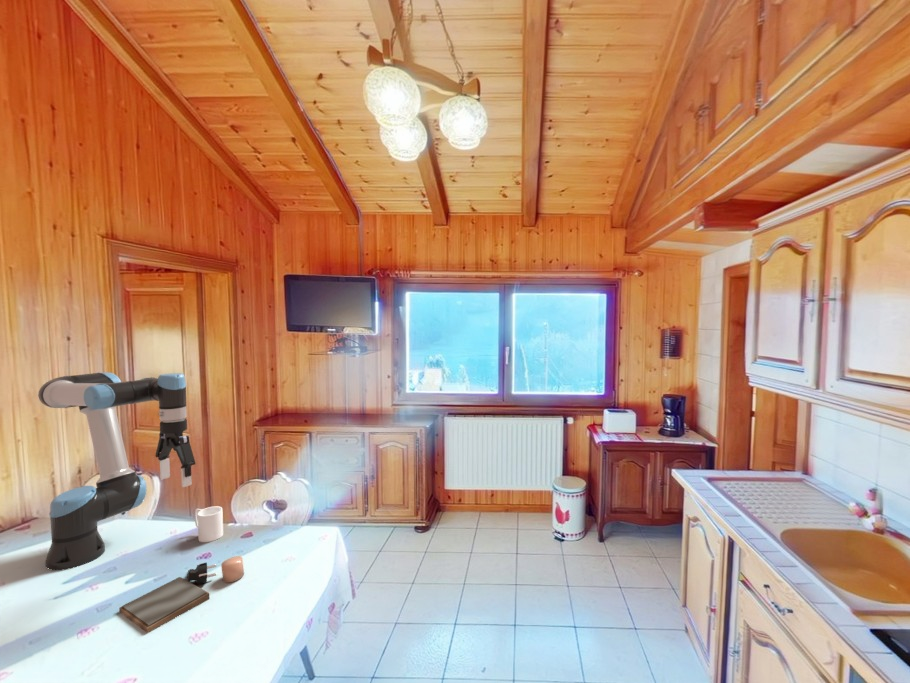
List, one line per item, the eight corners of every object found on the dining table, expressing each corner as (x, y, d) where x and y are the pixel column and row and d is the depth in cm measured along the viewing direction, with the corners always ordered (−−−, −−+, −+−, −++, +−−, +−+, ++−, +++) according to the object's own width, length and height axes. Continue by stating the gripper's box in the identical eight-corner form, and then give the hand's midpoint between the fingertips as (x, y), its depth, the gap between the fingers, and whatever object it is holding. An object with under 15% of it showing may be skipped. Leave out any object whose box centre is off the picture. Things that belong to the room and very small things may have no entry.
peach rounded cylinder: (228, 584, 128) (226, 569, 128) (219, 579, 131) (217, 564, 131) (247, 574, 133) (245, 559, 132) (238, 569, 136) (236, 554, 136)
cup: (204, 528, 163) (203, 503, 163) (228, 532, 160) (227, 507, 159) (185, 538, 156) (184, 513, 155) (209, 543, 152) (209, 517, 152)
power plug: (187, 561, 135) (189, 568, 125) (214, 555, 139) (217, 561, 130) (187, 580, 134) (188, 588, 124) (213, 573, 138) (217, 581, 129)
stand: (119, 614, 115) (119, 606, 115) (180, 582, 129) (180, 575, 129) (147, 635, 107) (147, 627, 107) (209, 599, 121) (209, 591, 121)
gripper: (142, 417, 139) (144, 478, 140) (181, 426, 127) (183, 493, 128) (166, 413, 146) (168, 471, 147) (206, 421, 134) (208, 485, 135)
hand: (175, 482), depth 137 cm, fingers open, 13 cm apart
